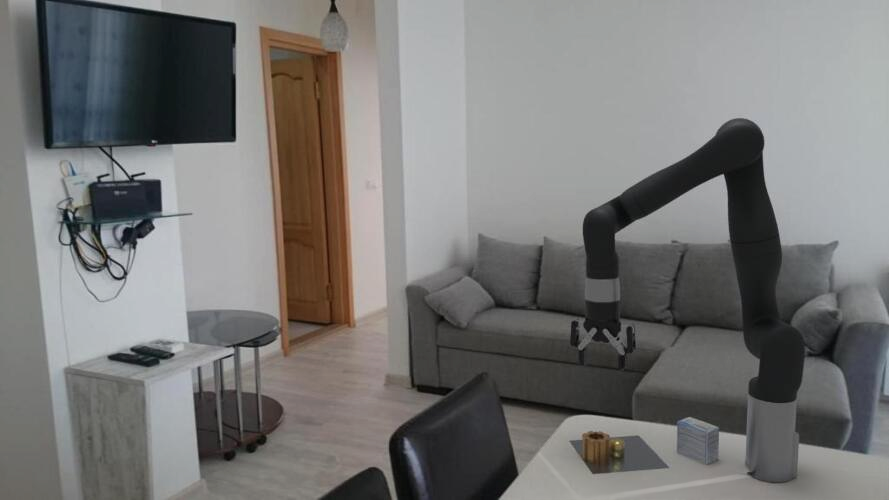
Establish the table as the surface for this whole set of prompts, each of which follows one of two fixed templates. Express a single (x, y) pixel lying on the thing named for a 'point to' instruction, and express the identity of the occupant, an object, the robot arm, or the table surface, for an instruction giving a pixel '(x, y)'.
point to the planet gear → (596, 447)
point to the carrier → (624, 456)
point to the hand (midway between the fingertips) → (602, 367)
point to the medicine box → (698, 440)
